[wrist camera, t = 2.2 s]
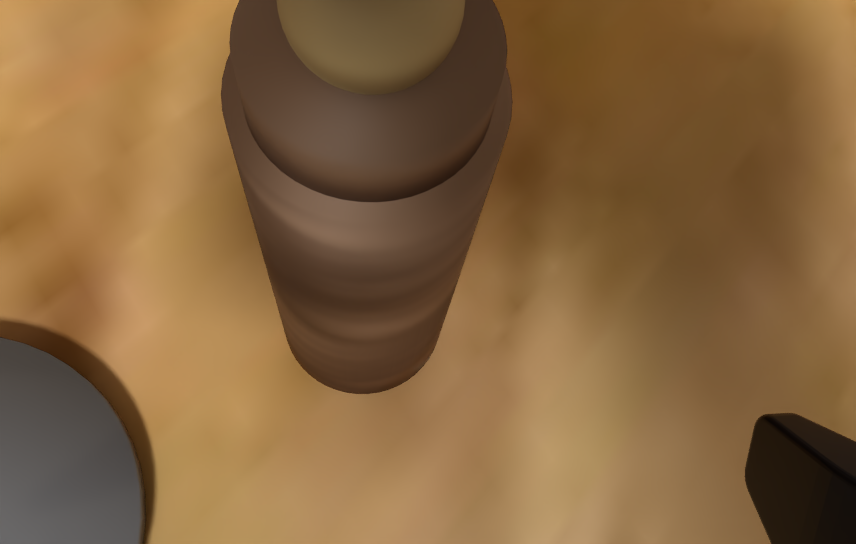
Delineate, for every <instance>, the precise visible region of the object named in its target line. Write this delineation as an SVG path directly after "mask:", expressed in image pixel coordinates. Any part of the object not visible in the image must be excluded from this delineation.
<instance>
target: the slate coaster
mask: <svg viewBox="0 0 856 544" xmlns="http://www.w3.org/2000/svg"><path fill="white" fill-rule="evenodd" d="M145 522H146V508H145V489H144V483H143V477H142V471H141V466H140V463H139V460H138V457H137V453H136V450H135V447H134V444H133V442H132V440H131V438H130V435H129V433H128V431H127V429H126V427H125V425H124V423H123V421H122V420H121V418H120V417H119V415H118V414H117V412H116V411H115V409H114V408H113V407H112V405H111V404H110V402H109V401H108V400H107V399H106V398H105V397H104V396H103V395H102V394H101V392H100V391H99V390H98V389H97V388H96V387H95V386H94V385H93V384H92V383H90V382H89V381H88V380H87V379H85V378H84V377H83V376H82V375H80V374H79V373H78V372H77V371H75V370H74V369H73V368H71V367H70V366H69V365H67V364H65V363H64V362H62V361H60V360H59V359H57V358H55V357H53V356H52V355H50V354H48V353H46V352H44V351H42V350H39V349H37V348H34V347H32V346H29V345H27V344H24V343H20V342H16V341H13V340H9V339H5V338H1V337H0V544H143V542H144V532H145Z"/></svg>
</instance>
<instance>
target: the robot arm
mask: <svg viewBox="0 0 856 544" xmlns="http://www.w3.org/2000/svg"><path fill="white" fill-rule="evenodd" d="M745 481H746V485H747V489H748V492H749V494H750V496H751V498H752V501H753V503H754V505H755V508H756V510H757V512H758V514H759V517H760V519H761V521H762V524H763V526H764V528H765V530H766V533H767V535H768V537H769V540H770V542H771V544H856V442H855V441H853V440H851V439H849V438H847V437H844V436H842V435H840V434H838V433H836V432H834V431H832V430H829V429H827V428H825V427H823V426H821V425H819V424H816V423H814V422H812V421H810V420H808V419H806V418H804V417H801V416H799V415H797V414H793V413H781V414H765V415H762V416H761V417H759V418H758V420H757V421H756V423H755V426H754V431H753V435H752V440H751V444H750V449H749V453H748V458H747V462H746V467H745Z"/></svg>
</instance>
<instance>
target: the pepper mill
mask: <svg viewBox="0 0 856 544" xmlns="http://www.w3.org/2000/svg"><path fill="white" fill-rule="evenodd" d="M506 58H507V44H506V35H505V30H504V26H503V22H502V19H501V17H500V14H499V12H498V9H497V7H496V6H495V4H494V2H493V0H240V1H239V3H238V5H237V8H236V10H235V12H234V16H233V20H232V24H231V31H230V55H229V57H228V59H227V62H226V66H225V70H224V74H223V78H222V90H221V99H222V111H223V116H224V120H225V124H226V128H227V132H228V135H229V139H230V142H231V146H232V149H233V153H234V156H235V160H236V163H237V167H238V170H239V173H240V177H241V180H242V184H243V187H244V191H245V194H246V198H247V201H248V205H249V208H250V212H251V215H252V219H253V222H254V226H255V229H256V233H257V236H258V240H259V243H260V247H261V250H262V254H263V257H264V261H265V264H266V268H267V271H268V275H269V278H270V282H271V285H272V289H273V292H274V296H275V299H276V303H277V306H278V310H279V313H280V317H281V320H282V324H283V327H284V331H285V334H286V338H287V341H288V344H289V346H290V349H291V351H292V353H293V355H294V356H295V358H296V360H297V361H298V362H299V364H300V365H301V366H302V368H303V369H304V370H305V371H306V372H307V373H308V374H309V375H311V376H312V377H313V378H315V379H316V380H317V381H319V382H321V383H322V384H324V385H326V386H328V387H331V388H333V389H336V390H339V391H343V392H347V393H355V394H370V393H377V392H382V391H385V390H389V389H391V388H394V387H396V386H398V385H400V384H402V383H404V382H405V381H407V380H408V379H410V378H411V377H412V376H414V375H415V374H416V373H417V372H418V371H419V370H420V369H421V368H422V367H423V366H424V364H425V363H426V362H427V360H428V359H429V357H430V356H431V354H432V352H433V350H434V348H435V345H436V343H437V340H438V337H439V334H440V331H441V328H442V325H443V322H444V319H445V317H446V314H447V311H448V308H449V305H450V302H451V299H452V296H453V293H454V290H455V287H456V284H457V281H458V278H459V275H460V272H461V269H462V266H463V263H464V260H465V257H466V255H467V252H468V249H469V246H470V243H471V240H472V237H473V234H474V231H475V228H476V225H477V222H478V219H479V216H480V213H481V210H482V207H483V204H484V201H485V198H486V195H487V193H488V190H489V187H490V184H491V181H492V178H493V175H494V172H495V169H496V166H497V163H498V160H499V157H500V154H501V151H502V148H503V145H504V142H505V139H506V136H507V133H508V129H509V125H510V121H511V113H512V91H511V84H510V79H509V75H508V71H507V68H506Z"/></svg>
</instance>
